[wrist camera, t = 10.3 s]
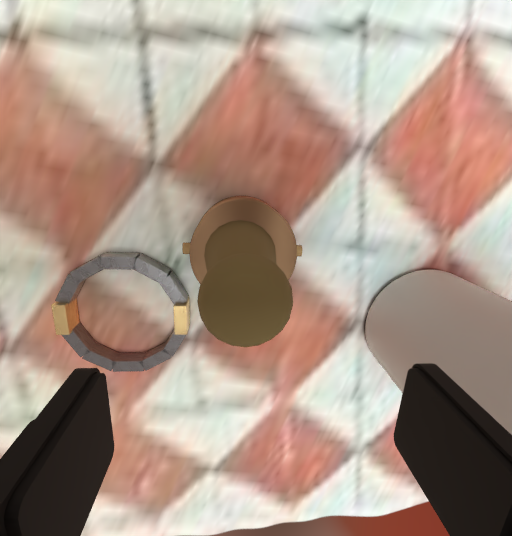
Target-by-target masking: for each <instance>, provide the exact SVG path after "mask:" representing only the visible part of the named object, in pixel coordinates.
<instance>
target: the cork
mask: <svg viewBox="0 0 512 536" xmlns="http://www.w3.org/2000/svg"><path fill="white" fill-rule="evenodd" d="M204 258H205V263H206V269H207V273H206V275H205V277H204V279H203V281H202V283H201V285H200V288H199V295H198V307H199V312H200V316H201V319H202V321H203V322H204V324H205V326H206V328H207V329H208V331H209V332H210V333H212V334H213V335H214V336H215V337H216V338H217V339H218V340H221V341H223V342H225V343H227V344H230V345H233V346H240V347H250V346H257V345H260V344H262V343H265V342H267V341H269V340H271V339H272V338H274V337H275V336H276V335H277V334H278V333H279V332H281V331H282V330H283V328H284V326H285V325H286V323H287V322H288V320H289V318H290V314H291V310H292V306H293V297H292V288H291V286H290V283H289V281H288V279H287V277H286V275H285V273H284V272H283V271H282V270H281V269H280V268H279V267H278V266H277V263H276V250H275V245H274V242H273V240H272V238H271V236H270V235H269V234H268V233H267V232H266V231H265V229H264V228H263V227H261V226H259V225H257V224H255V223H253V222H249V221H244V220H238V221H230V222H228V223H226V224H224V225H222V226H219V227H218V228H217V229H216V230H215V231H214V232H213V233H212V234H211V235H210V237H209V239H208V241H207V243H206V246H205V253H204Z"/></svg>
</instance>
